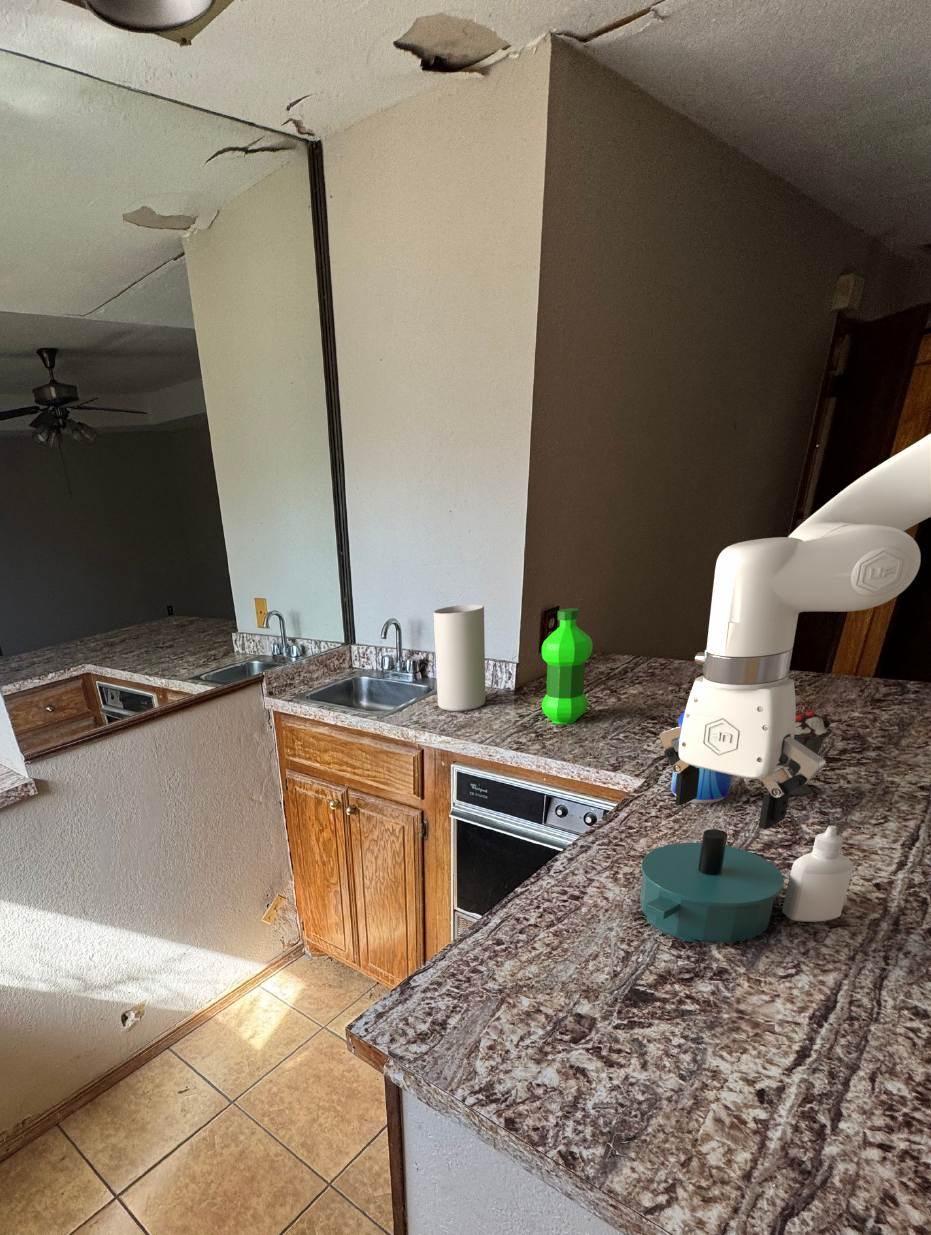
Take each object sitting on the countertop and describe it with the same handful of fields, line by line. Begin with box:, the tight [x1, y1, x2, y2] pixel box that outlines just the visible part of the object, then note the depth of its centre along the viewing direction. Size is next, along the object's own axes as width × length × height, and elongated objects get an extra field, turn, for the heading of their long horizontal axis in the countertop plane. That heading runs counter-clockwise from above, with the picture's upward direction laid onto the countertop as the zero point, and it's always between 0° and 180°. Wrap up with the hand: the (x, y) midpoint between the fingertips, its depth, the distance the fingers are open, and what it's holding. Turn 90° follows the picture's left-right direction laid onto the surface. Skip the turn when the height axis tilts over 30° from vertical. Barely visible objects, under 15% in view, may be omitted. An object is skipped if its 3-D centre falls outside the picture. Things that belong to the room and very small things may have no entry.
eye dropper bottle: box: [781, 825, 854, 923], centre depth 74 cm, size 4×6×12 cm
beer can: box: [670, 708, 733, 804], centre depth 104 cm, size 8×8×16 cm
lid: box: [640, 828, 785, 907], centre depth 77 cm, size 15×15×6 cm
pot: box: [639, 856, 775, 945], centre depth 79 cm, size 14×19×6 cm
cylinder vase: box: [433, 603, 486, 712], centre depth 169 cm, size 12×12×25 cm
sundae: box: [786, 701, 833, 796], centre depth 103 cm, size 7×7×15 cm
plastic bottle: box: [541, 607, 594, 725], centre depth 146 cm, size 10×10×25 cm
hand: (725, 812), depth 76 cm, fingers open, 9 cm apart
